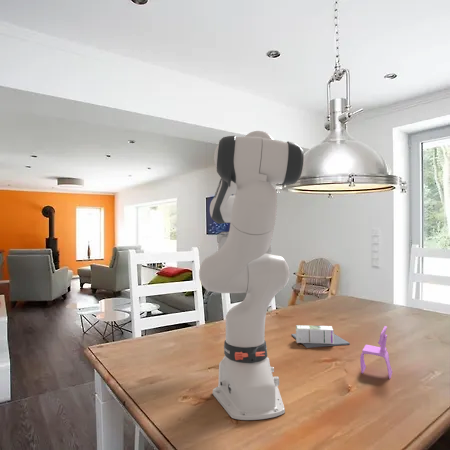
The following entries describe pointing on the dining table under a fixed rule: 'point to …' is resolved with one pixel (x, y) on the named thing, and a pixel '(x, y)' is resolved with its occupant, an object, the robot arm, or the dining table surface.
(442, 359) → the dining table surface
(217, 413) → the dining table surface
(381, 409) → the dining table surface
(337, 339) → the slate rubber mat
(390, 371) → the toy chair
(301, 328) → the syrup box
